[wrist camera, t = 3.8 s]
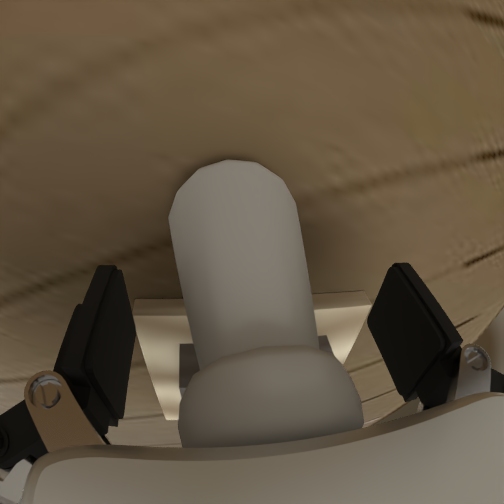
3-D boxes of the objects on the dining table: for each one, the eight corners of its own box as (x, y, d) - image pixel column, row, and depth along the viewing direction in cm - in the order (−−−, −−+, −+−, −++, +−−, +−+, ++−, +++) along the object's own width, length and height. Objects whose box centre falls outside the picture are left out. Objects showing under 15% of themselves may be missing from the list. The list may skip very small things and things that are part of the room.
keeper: (134, 298, 19) (123, 361, 15) (363, 290, 21) (392, 342, 17) (166, 407, 28) (166, 450, 24) (315, 397, 31) (326, 436, 27)
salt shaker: (154, 215, 16) (113, 479, 5) (211, 124, 13) (240, 399, 3) (244, 259, 18) (291, 490, 8) (305, 184, 16) (442, 415, 6)
